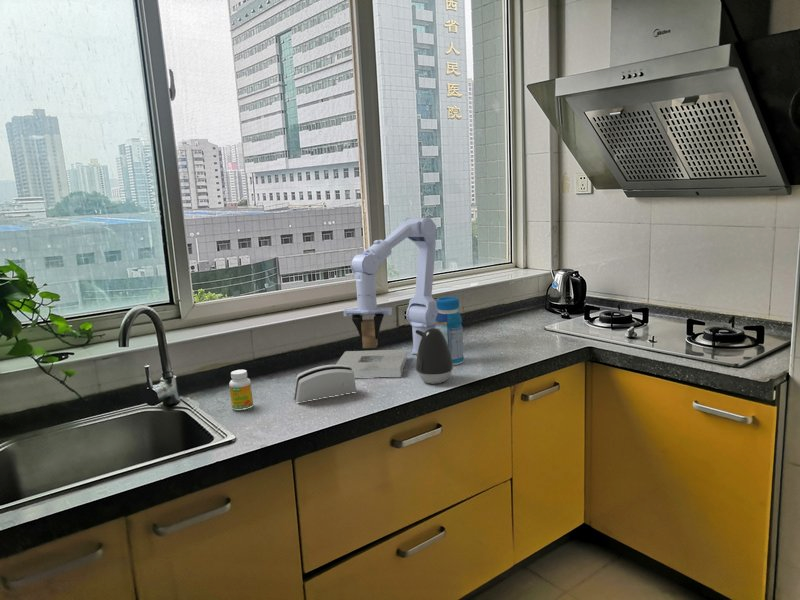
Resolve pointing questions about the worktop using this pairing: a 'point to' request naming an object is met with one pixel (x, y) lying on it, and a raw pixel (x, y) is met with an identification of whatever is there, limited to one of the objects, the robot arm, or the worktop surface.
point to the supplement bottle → (240, 390)
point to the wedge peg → (368, 333)
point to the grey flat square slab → (375, 362)
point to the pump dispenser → (433, 357)
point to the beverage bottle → (451, 326)
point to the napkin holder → (324, 382)
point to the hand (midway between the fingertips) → (369, 338)
